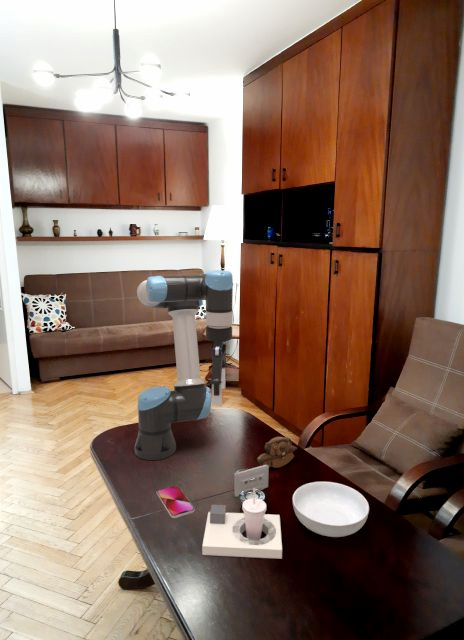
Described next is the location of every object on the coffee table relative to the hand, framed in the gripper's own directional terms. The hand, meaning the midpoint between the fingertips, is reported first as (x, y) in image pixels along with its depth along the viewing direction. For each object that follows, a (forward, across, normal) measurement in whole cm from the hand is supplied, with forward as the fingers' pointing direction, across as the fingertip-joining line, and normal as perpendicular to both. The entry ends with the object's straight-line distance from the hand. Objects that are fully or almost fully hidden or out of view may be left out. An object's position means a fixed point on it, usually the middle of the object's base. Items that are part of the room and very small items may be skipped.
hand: (218, 396), depth 131 cm
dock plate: (+33, +18, +8) cm, 38 cm away
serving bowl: (+33, +10, +32) cm, 47 cm away
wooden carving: (+33, -20, +19) cm, 43 cm away
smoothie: (+33, +18, +11) cm, 39 cm away
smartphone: (+33, +3, -13) cm, 36 cm away
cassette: (+33, -4, +10) cm, 35 cm away
